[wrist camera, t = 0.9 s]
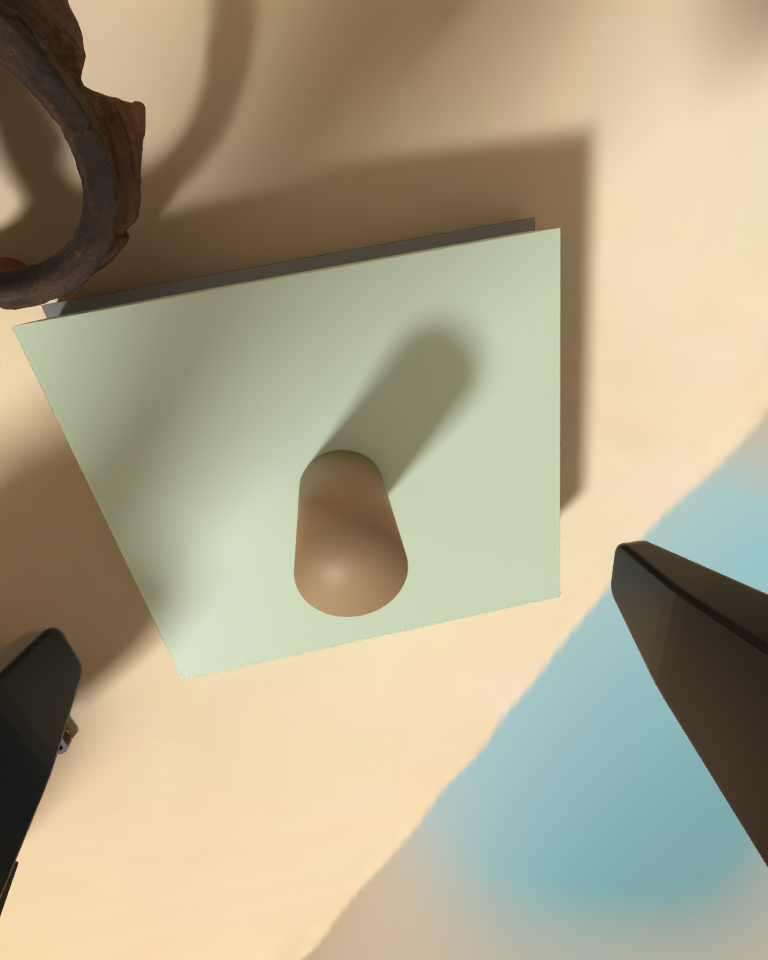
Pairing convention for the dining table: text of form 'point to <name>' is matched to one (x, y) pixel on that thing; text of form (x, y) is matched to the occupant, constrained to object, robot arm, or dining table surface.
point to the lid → (323, 446)
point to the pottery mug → (73, 148)
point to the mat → (287, 267)
